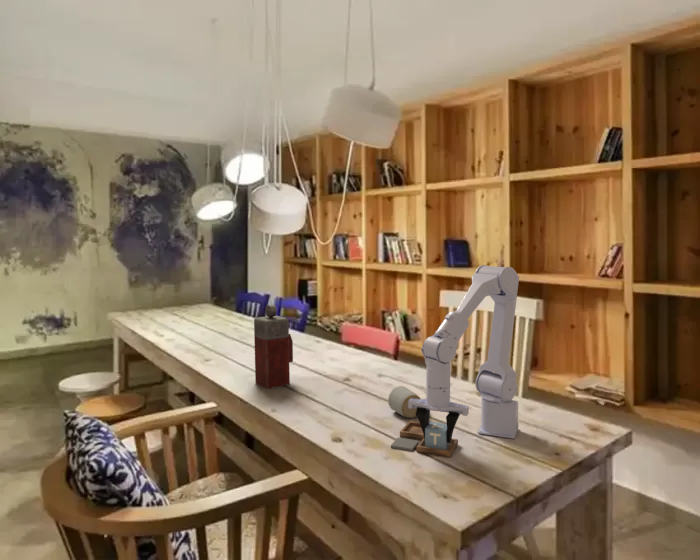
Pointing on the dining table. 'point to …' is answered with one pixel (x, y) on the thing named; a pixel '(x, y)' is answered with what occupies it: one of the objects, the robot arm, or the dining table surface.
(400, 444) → the slate tile
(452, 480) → the dining table surface
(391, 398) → the ceramic mug
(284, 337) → the dark red bottle
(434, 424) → the letter cube
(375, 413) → the dining table surface
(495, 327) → the robot arm
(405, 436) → the tray
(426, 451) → the tray
